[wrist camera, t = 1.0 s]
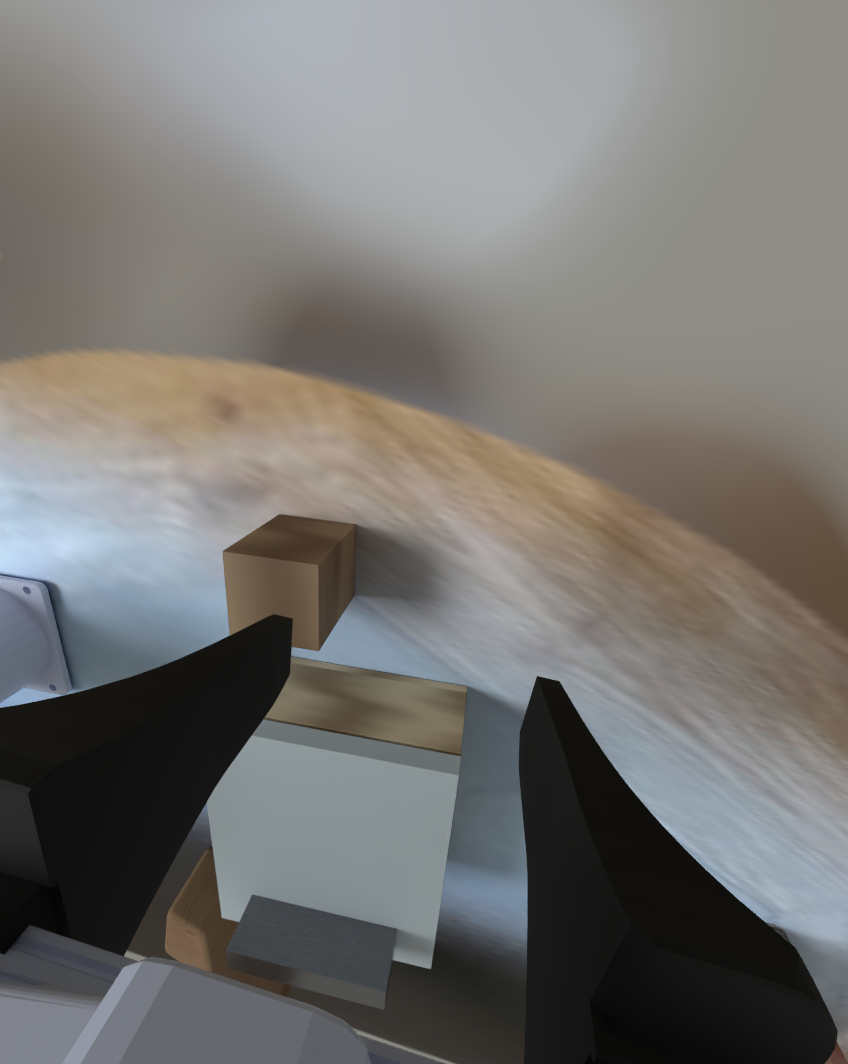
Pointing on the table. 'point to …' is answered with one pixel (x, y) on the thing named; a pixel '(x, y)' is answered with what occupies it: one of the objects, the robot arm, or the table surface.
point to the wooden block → (207, 928)
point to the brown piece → (373, 705)
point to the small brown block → (292, 576)
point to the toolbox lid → (331, 857)
